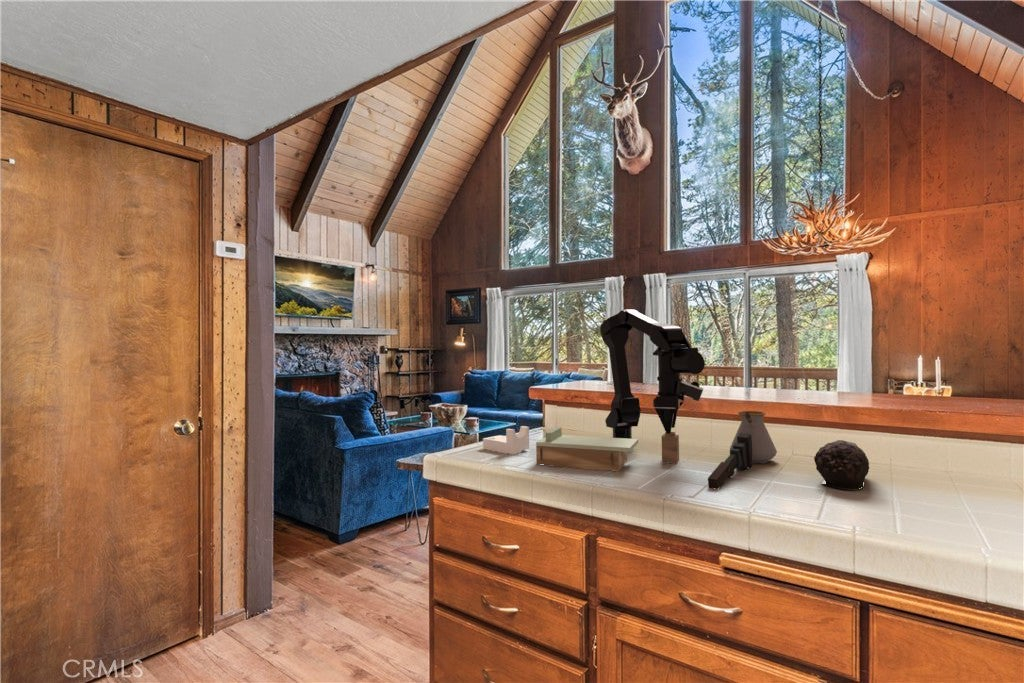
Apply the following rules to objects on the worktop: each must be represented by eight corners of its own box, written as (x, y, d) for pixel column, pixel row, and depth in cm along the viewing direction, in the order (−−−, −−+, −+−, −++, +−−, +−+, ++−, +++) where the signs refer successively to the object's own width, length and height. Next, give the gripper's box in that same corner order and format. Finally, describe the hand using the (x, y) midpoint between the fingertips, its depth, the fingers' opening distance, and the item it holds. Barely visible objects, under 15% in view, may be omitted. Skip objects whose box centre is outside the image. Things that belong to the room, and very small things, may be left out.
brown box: (551, 455, 152) (550, 438, 152) (627, 460, 144) (627, 442, 144) (535, 465, 141) (535, 446, 141) (617, 472, 132) (617, 452, 132)
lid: (550, 437, 152) (550, 426, 152) (638, 442, 143) (637, 430, 143) (536, 445, 141) (535, 433, 141) (629, 451, 132) (629, 438, 132)
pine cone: (869, 475, 124) (868, 433, 124) (869, 495, 109) (869, 447, 109) (818, 470, 130) (818, 429, 130) (812, 488, 115) (811, 442, 115)
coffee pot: (732, 454, 149) (731, 401, 149) (778, 457, 144) (777, 402, 144) (722, 471, 131) (721, 411, 131) (773, 476, 125) (772, 413, 125)
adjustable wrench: (709, 508, 118) (742, 463, 137) (721, 510, 116) (753, 465, 135) (705, 473, 117) (740, 433, 135) (717, 475, 115) (751, 434, 134)
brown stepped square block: (664, 459, 145) (663, 430, 145) (679, 460, 143) (678, 431, 143) (662, 462, 141) (661, 433, 141) (677, 463, 140) (677, 434, 140)
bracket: (529, 451, 159) (528, 426, 159) (512, 455, 154) (512, 430, 154) (499, 446, 168) (499, 422, 168) (483, 449, 163) (482, 425, 163)
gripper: (698, 375, 130) (699, 438, 130) (703, 370, 147) (704, 426, 147) (652, 374, 135) (653, 435, 135) (662, 370, 152) (663, 424, 152)
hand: (670, 430), depth 142 cm, fingers open, 9 cm apart
